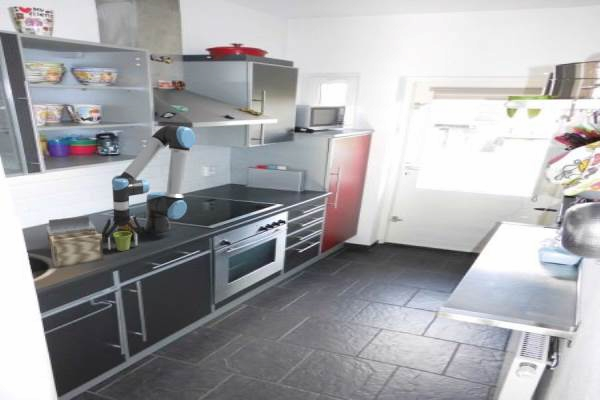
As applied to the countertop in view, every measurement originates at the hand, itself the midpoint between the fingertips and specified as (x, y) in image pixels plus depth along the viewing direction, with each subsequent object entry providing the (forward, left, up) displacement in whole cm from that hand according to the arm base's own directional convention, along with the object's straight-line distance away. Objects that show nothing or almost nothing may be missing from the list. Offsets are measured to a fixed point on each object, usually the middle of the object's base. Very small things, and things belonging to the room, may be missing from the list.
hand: (122, 246), depth 212 cm
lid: (+22, -11, +10) cm, 27 cm away
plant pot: (0, 0, -2) cm, 2 cm away
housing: (+22, -4, -1) cm, 22 cm away
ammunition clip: (-6, -16, -2) cm, 17 cm away
